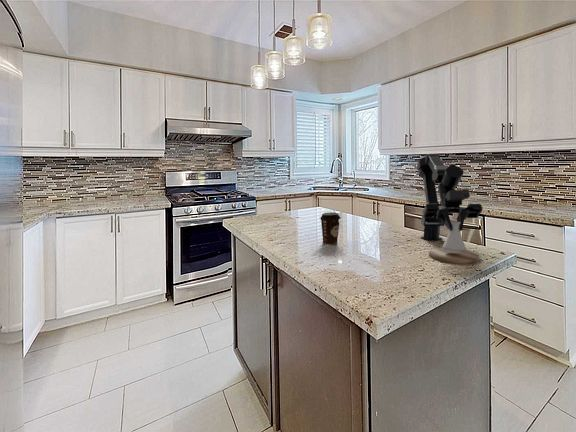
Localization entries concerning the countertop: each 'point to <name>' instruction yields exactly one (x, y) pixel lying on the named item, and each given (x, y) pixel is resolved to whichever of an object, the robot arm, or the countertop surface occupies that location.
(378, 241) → the countertop surface
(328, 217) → the coffee cup
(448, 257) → the walnut board
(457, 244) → the flask
